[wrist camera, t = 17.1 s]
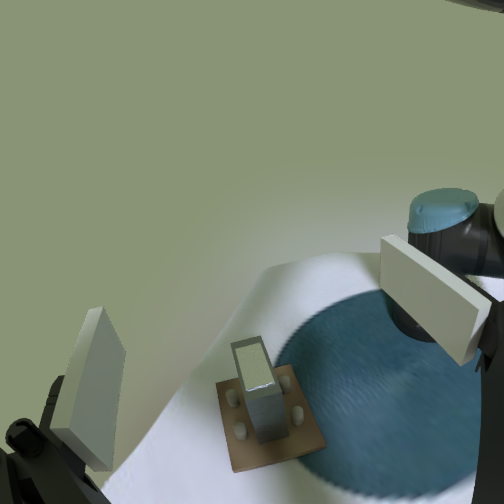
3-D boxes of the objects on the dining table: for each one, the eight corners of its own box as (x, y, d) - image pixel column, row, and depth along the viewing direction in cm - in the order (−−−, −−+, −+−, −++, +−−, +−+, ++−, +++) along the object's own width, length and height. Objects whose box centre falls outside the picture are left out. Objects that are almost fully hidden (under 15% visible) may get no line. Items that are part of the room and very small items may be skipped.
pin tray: (290, 367, 48) (288, 352, 46) (326, 447, 33) (326, 434, 32) (217, 387, 46) (211, 372, 45) (234, 473, 32) (228, 462, 30)
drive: (270, 384, 44) (260, 334, 40) (289, 436, 35) (281, 390, 31) (244, 391, 43) (230, 342, 39) (259, 444, 34) (244, 400, 30)
